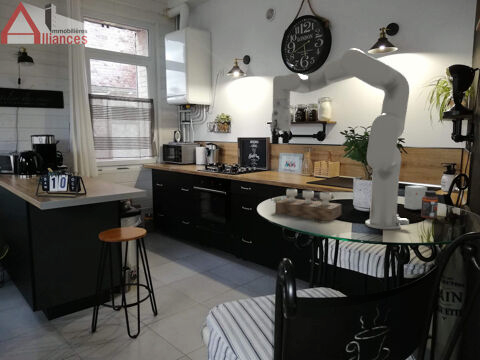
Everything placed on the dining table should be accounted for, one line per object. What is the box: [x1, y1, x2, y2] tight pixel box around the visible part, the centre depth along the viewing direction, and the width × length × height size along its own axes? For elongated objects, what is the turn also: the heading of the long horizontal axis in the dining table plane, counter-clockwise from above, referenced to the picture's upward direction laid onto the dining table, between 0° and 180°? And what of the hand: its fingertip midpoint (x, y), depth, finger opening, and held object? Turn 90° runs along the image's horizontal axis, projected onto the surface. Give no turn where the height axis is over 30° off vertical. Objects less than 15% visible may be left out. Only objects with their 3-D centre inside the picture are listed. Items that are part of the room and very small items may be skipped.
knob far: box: [286, 188, 298, 202], centre depth 158 cm, size 5×5×7 cm
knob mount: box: [274, 197, 342, 222], centre depth 155 cm, size 26×12×5 cm, turn 55°
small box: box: [403, 185, 428, 210], centre depth 167 cm, size 8×6×10 cm
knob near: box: [319, 191, 332, 206], centre depth 149 cm, size 5×5×7 cm
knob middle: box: [302, 190, 315, 204], centre depth 154 cm, size 5×5×7 cm
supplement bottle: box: [420, 190, 439, 220], centre depth 147 cm, size 6×6×11 cm
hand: (280, 143), depth 157 cm, fingers open, 9 cm apart
